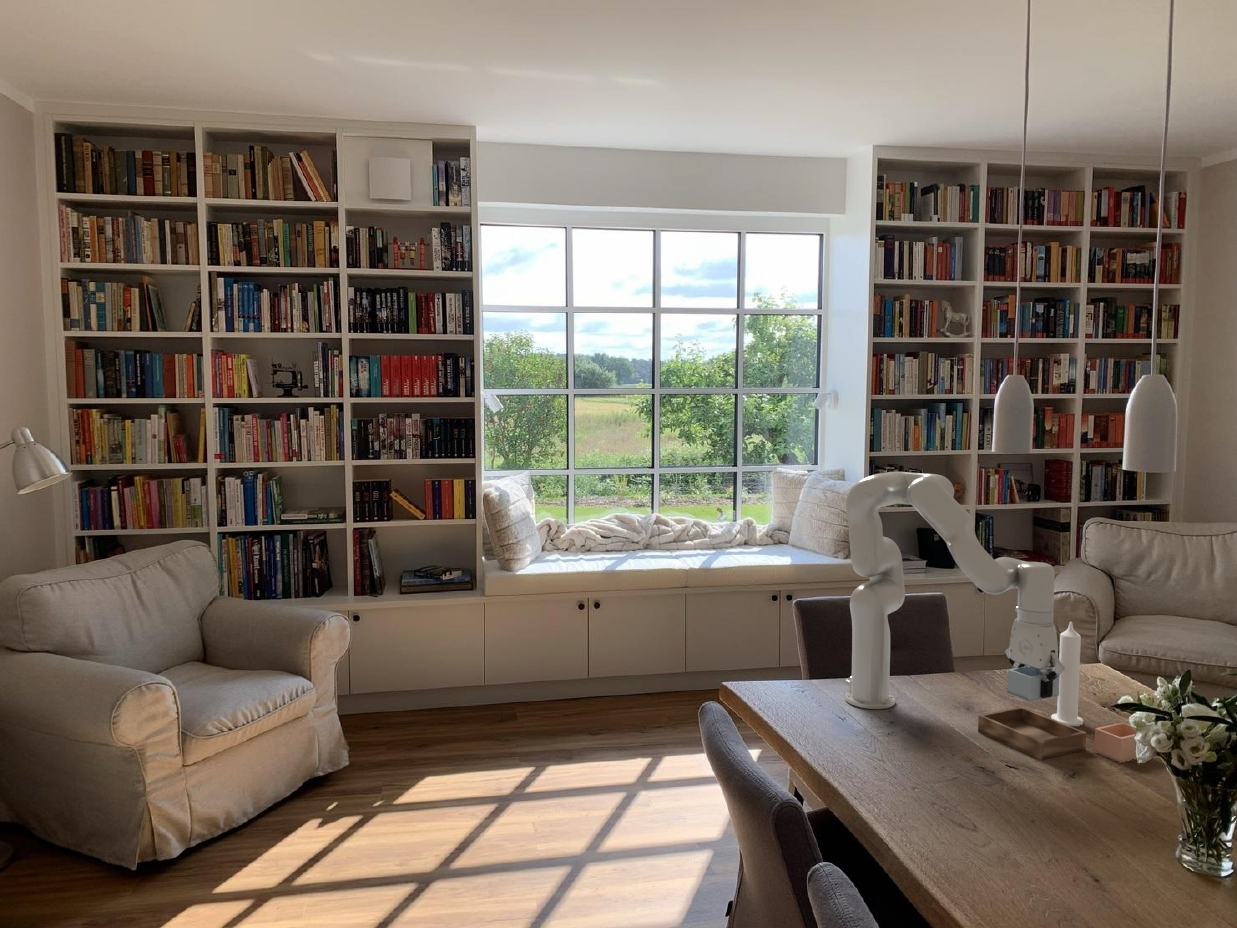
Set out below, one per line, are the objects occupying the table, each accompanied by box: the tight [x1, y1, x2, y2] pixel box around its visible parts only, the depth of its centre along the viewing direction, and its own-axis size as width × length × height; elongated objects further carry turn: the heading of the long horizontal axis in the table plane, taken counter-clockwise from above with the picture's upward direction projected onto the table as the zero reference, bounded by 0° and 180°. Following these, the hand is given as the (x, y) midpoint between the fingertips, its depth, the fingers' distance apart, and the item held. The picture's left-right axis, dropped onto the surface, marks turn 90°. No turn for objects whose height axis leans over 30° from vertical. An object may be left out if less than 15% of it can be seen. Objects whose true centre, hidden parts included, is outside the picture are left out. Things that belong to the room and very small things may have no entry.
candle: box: [1050, 621, 1084, 727], centre depth 219 cm, size 7×7×25 cm
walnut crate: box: [977, 706, 1087, 761], centre depth 208 cm, size 18×14×4 cm
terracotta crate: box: [1093, 722, 1136, 764], centre depth 200 cm, size 6×9×6 cm
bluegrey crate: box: [1006, 665, 1060, 702], centre depth 207 cm, size 6×9×6 cm
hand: (1033, 691), depth 207 cm, fingers closed on bluegrey crate, 6 cm apart
